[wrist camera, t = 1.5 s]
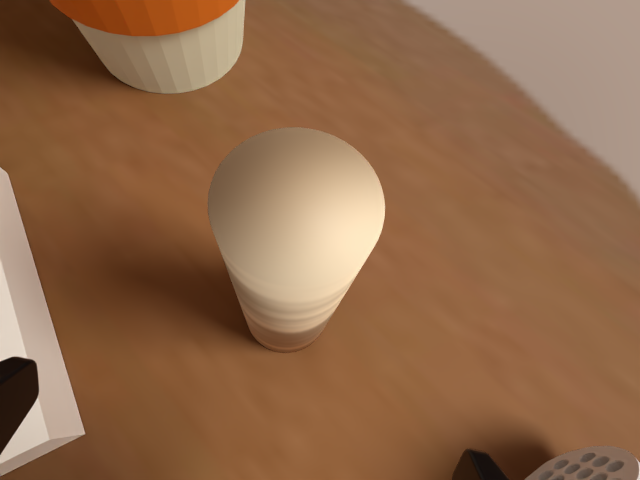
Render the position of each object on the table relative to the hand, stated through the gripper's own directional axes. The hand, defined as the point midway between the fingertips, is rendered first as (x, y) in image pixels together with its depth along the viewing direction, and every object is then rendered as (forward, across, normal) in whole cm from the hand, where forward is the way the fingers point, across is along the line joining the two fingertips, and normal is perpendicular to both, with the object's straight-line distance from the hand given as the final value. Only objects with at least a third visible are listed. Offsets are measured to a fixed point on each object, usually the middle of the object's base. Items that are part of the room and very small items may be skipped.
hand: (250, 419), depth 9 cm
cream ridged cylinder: (+11, 0, +5) cm, 12 cm away
